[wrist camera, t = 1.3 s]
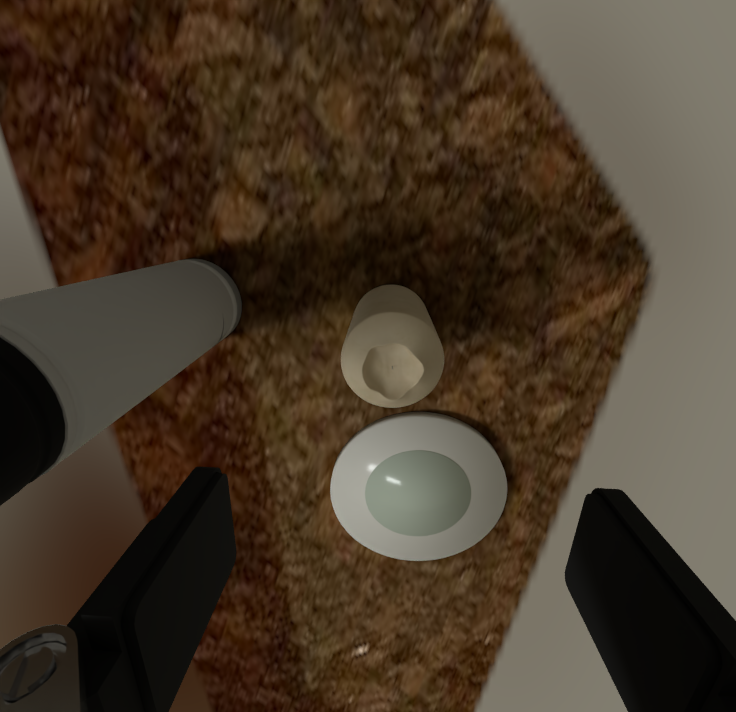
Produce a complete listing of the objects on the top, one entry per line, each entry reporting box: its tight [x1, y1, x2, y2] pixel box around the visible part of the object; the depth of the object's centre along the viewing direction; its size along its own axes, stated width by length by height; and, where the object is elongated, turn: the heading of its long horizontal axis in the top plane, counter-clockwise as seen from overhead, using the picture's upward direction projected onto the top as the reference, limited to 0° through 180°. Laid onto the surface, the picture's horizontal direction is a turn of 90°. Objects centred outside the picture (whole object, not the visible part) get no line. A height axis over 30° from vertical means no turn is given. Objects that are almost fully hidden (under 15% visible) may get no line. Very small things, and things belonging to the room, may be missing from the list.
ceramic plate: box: [330, 412, 507, 561], centre depth 33 cm, size 15×15×1 cm
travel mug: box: [0, 259, 242, 505], centre depth 19 cm, size 6×7×20 cm
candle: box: [341, 285, 444, 408], centre depth 24 cm, size 6×6×10 cm
